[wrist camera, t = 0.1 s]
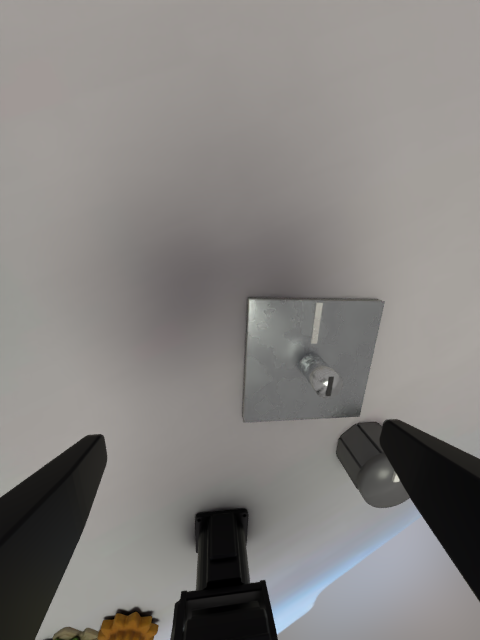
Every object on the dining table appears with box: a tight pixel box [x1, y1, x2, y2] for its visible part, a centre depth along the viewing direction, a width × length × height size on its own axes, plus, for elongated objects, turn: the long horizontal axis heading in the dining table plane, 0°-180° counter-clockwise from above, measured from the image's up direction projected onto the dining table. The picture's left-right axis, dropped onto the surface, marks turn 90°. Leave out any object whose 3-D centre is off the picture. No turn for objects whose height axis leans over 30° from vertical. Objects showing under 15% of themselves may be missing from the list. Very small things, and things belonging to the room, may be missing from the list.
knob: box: [336, 422, 410, 508], centre depth 25 cm, size 7×7×5 cm
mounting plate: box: [242, 297, 385, 422], centre depth 21 cm, size 13×13×5 cm
